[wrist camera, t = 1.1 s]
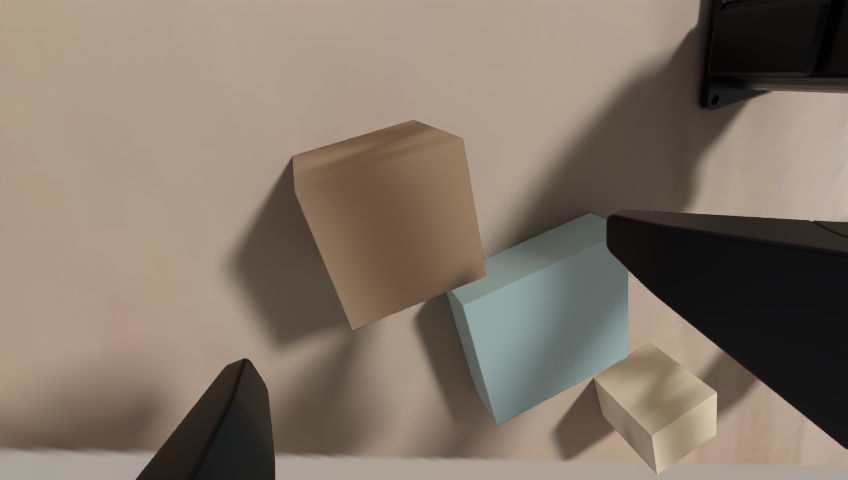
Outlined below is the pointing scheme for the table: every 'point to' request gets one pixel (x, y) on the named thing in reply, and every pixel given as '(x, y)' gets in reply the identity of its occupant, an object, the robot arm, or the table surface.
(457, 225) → the walnut cube
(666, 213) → the robot arm
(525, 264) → the base block
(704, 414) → the beech cube
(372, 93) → the table surface
